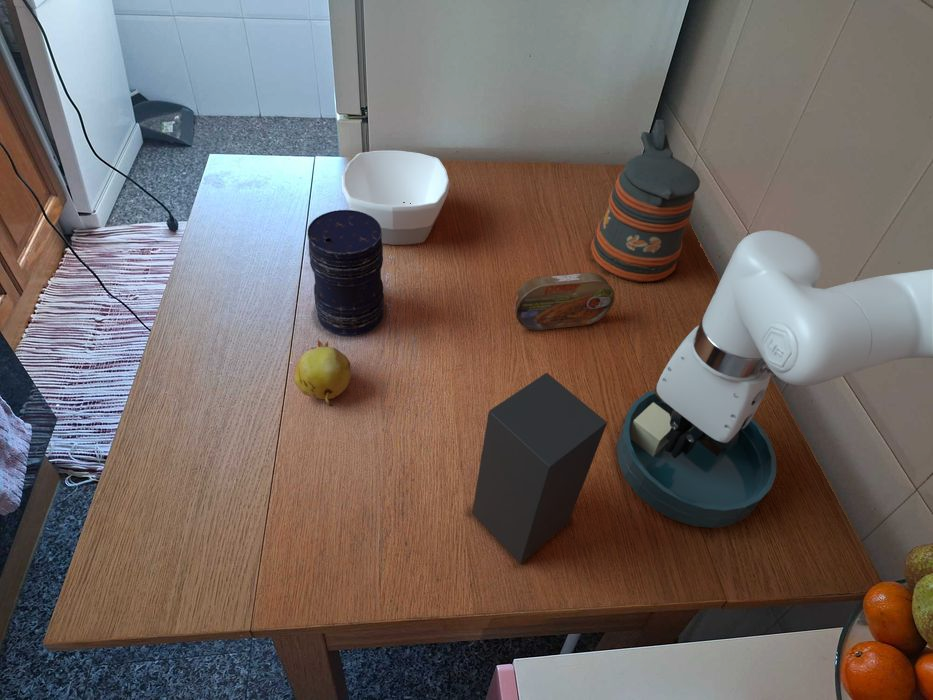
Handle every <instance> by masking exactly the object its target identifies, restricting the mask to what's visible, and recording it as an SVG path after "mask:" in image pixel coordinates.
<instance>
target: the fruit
mask: <svg viewBox="0 0 933 700" xmlns="http://www.w3.org/2000/svg"><path fill="white" fill-rule="evenodd" d="M351 369H352V367H351V362H350V360H349V359H348V357H347V356H346V355H345V354H344V353H343V352H342V351H340V350H339V349H337V348H336V347H334V346H333V347H332V346H329V340H326V342H325V343H324V344H323V342H321V341H320V340H319V339H317V346H316V347H315V346H314V347H310V349H308V350H307V351H305V352H304V353H303V354H302V355H300V358H299V359H298V361H297V363H296V365H295V369H294V374H293V380H294V384H295V386H296V387H297V388H298V390H299V391H300V392H301V393H302V394H304V396H307V397H310V398H314V399H320V400H324V401H325V403H326V404H327V406H328V407H329V408H331V407H334V404H333V403H331V401H330V400H331V399H334V398H336V397H338V396H339V395H341V394H342V393H343V392H344V391H345V390H346V389H347V387H348V385H349V383H350V380H351V373H352V372H351Z"/></svg>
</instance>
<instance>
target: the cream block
mask: <svg viewBox="0 0 933 700" xmlns="http://www.w3.org/2000/svg"><path fill="white" fill-rule="evenodd" d="M670 419H671V417H670V415H669V413H667V412H666V411H665V410H663V409H662V408H661V407H659V406H658V405H656V404H655V403H654V402H653V403H652V404H651V405H650V406H649V407H647V408H646V409H645V410H644V411H643V412H642V413H641V414H640V415H639V416H638V417H637V418H636V419H635V420H634V421H633V424H632V427H631V430H630V439H631V440H632V441H634V442H635V443H636V444H637V445H639V446H640V447H641V448H643V449H644V450H645V451H646V452H648V453H649V454H650V455H651V456H653V457H654V456H655V455H656V454H657V453H658V452H659V451H660V450H661V449H662V448H663V447H664V446H665V445H666V444H667V443H668V442H669V440H667V439H666V437H667V435H668V433H669V431H670V429H671V428H672V427H671V426H670Z"/></svg>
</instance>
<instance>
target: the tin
mask: <svg viewBox="0 0 933 700" xmlns="http://www.w3.org/2000/svg"><path fill="white" fill-rule="evenodd" d="M614 303H615V291H614V289H613V287H612V286H611V285H610V284H609V282H608V281H607V280H606V278H605V277H604V276H602V275H601V274H599V273H596V272H579V273H578V272H577V273H571V274H570V273H567V274H557V275H547V276H538V277H535V278H532V279H530V280H527V282H525V283H524V284H523V285H521V286H520V287H519V288H518V290H517V291H516V292H515V296H514V299H513V310H514V314H515V317H516V320H517V321H518V324H520V325H521V326H522V327H523V328H524V329H528V330H531V331H546V330H554V329H555V330H556V329H565V328H575V327H585V326H589V325H592V324H594V323H597V322H598V321H600V320H601V319H602V318H604V317H605V316H606V315H607V314H608V313H609V312H610V311H611V309H612V307H613V306H614Z"/></svg>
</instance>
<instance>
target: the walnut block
mask: <svg viewBox="0 0 933 700" xmlns="http://www.w3.org/2000/svg"><path fill="white" fill-rule="evenodd" d="M741 430H742V428H740V431H741ZM739 433H740V432H739ZM698 442H699V443H701V444H702V445H703V446H704V447H706V448H707V449H708V450H710V451H711V452H712V453H713V454H715V455H716V456H719V455H720V454H721V453H722V452H723V451H724V450H725V449H726V448H724V447H722V446H720V445H719V444H717V443H715V441H713V440H712V441H700V440H698Z"/></svg>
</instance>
